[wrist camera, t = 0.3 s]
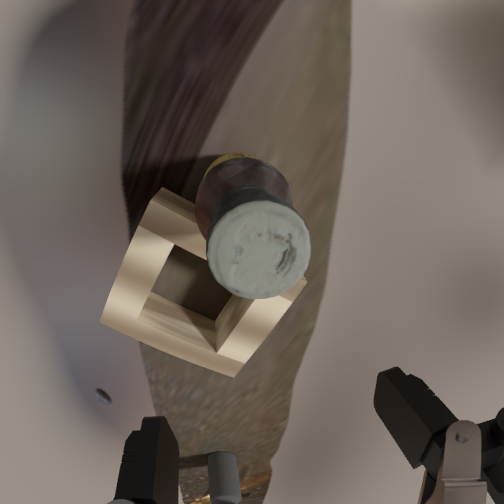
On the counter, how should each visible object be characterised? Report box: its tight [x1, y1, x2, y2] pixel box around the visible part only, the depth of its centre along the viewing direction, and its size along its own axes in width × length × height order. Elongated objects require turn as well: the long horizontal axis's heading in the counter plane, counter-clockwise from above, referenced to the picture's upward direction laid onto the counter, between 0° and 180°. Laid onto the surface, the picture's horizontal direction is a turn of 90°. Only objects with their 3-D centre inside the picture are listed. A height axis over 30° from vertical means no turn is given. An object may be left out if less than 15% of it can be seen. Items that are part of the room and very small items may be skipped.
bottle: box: [207, 452, 241, 504], centre depth 42 cm, size 6×6×15 cm
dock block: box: [99, 187, 307, 377], centre depth 30 cm, size 14×16×6 cm
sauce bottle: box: [195, 153, 312, 300], centre depth 20 cm, size 7×6×20 cm
